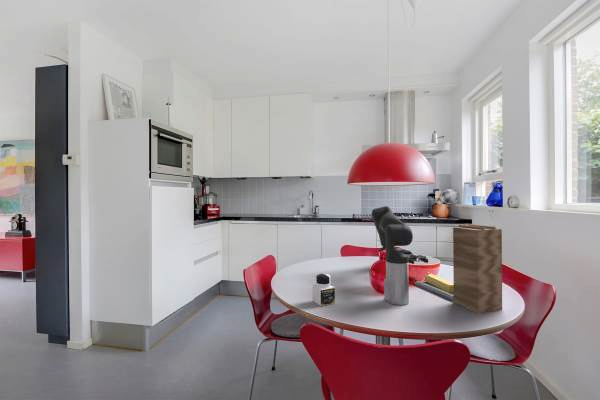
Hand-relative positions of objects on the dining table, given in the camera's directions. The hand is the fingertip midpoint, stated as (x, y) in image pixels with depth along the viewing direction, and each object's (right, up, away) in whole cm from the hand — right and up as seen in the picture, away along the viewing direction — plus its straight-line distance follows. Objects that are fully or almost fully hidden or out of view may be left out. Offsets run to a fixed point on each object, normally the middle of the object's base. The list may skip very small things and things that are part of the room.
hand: (420, 261), depth 152 cm
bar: (+3, -9, -12) cm, 15 cm away
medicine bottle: (-54, -12, -29) cm, 62 cm away
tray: (+4, -11, -15) cm, 19 cm away
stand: (+9, -11, -34) cm, 37 cm away
